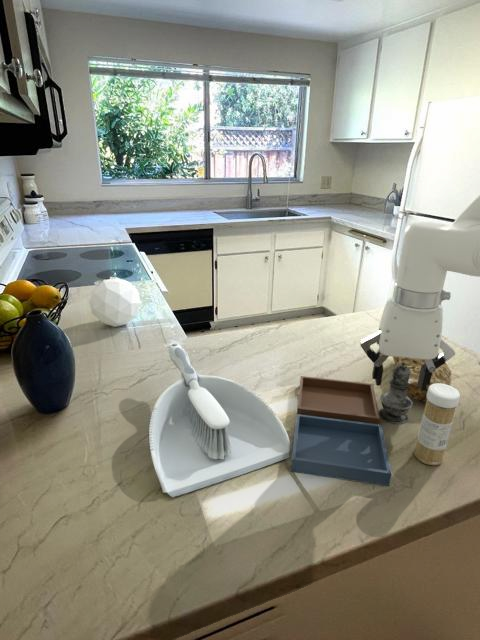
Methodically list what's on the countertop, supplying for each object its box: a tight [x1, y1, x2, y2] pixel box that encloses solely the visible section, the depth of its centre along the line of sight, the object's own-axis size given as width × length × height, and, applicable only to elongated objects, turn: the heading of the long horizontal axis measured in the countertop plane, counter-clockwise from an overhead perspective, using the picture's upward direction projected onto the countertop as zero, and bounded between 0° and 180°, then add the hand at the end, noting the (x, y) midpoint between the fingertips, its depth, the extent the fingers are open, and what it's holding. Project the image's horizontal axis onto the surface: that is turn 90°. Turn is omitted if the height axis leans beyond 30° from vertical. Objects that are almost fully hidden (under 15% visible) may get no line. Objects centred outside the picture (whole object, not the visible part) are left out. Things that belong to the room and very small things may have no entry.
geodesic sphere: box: [88, 275, 141, 328], centre depth 115 cm, size 15×14×14 cm
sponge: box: [392, 352, 452, 403], centre depth 90 cm, size 13×8×20 cm
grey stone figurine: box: [378, 362, 413, 425], centre depth 77 cm, size 6×6×12 cm
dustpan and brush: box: [148, 342, 292, 499], centre depth 75 cm, size 23×33×10 cm
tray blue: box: [290, 413, 392, 487], centre depth 69 cm, size 15×12×2 cm
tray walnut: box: [296, 375, 381, 425], centre depth 81 cm, size 15×12×2 cm
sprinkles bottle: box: [413, 383, 461, 466], centre depth 66 cm, size 5×5×14 cm
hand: (399, 383), depth 76 cm, fingers open, 7 cm apart
